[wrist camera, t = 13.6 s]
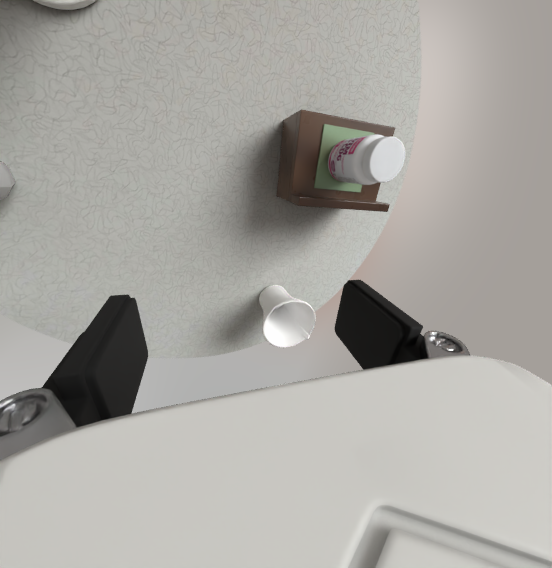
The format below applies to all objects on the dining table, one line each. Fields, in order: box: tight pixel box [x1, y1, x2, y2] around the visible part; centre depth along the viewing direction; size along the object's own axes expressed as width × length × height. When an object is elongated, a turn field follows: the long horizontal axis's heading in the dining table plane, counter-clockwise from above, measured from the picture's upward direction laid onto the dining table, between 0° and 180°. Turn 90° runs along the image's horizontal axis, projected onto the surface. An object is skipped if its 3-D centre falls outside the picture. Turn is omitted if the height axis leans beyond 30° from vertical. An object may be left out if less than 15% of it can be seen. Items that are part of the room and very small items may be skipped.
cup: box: [259, 285, 316, 348], centre depth 40 cm, size 9×9×10 cm
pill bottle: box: [328, 134, 405, 185], centre depth 26 cm, size 5×5×8 cm
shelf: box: [277, 110, 395, 212], centre depth 32 cm, size 10×13×10 cm
